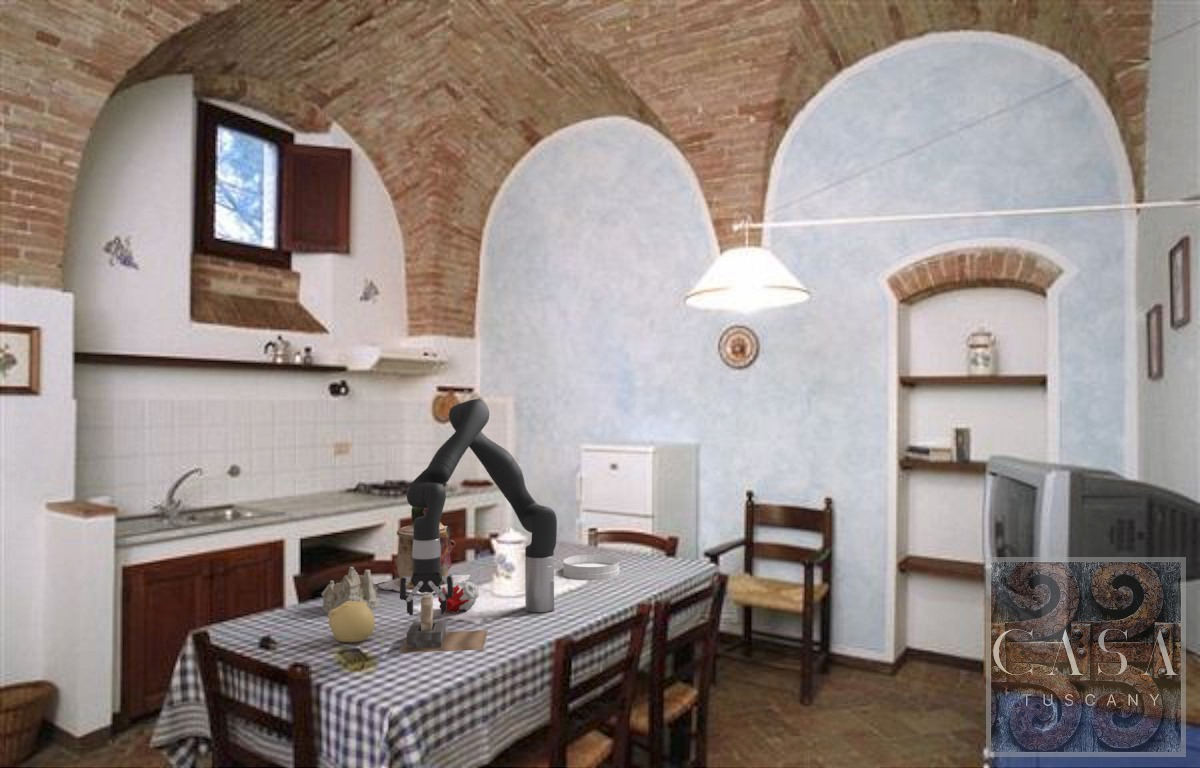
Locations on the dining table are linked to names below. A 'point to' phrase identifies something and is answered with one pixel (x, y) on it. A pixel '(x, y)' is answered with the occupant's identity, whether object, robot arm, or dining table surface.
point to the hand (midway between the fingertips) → (426, 614)
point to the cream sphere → (351, 621)
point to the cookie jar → (407, 559)
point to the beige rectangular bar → (427, 613)
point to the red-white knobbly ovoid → (461, 596)
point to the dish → (591, 567)
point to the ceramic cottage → (351, 591)
